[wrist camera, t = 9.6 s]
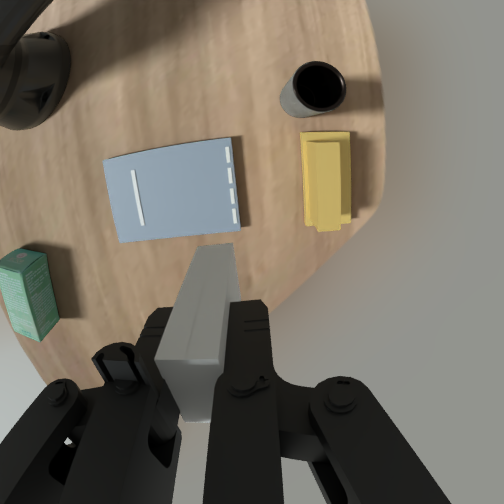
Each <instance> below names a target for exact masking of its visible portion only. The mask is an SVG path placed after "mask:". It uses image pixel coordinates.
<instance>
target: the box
mask: <svg viewBox="0 0 504 504" xmlns="http://www.w3.org/2000/svg"><path fill="white" fill-rule="evenodd" d="M0 288H1V292H2V295H3V299H4V302H5V305H6V308H7V311H8V314H9V317H10V320H11V323H12V326H13V329H14V331H16V332H18V333H20V334H22V335H24V336H26V337H29V338H31V339H33V340H36V341H38V342H41V341H42V340H43V339H44V337H45V336H46V335H47V334H48V333H49V331H50V330H51V329H52V328H53V327H54V325H55V324H56V323H57V322H58V321H59V319H60V318H59V315H58V310H57V306H56V301H55V297H54V293H53V288H52V283H51V278H50V273H49V268H48V262H47V255H46V253H40V252H35V251H30V250H25V249H21V248H19V249H16V250H14V251H12V252H11V253H9V254H7V255H6V256H5V257H3V258H2V259H1V260H0Z"/></svg>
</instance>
